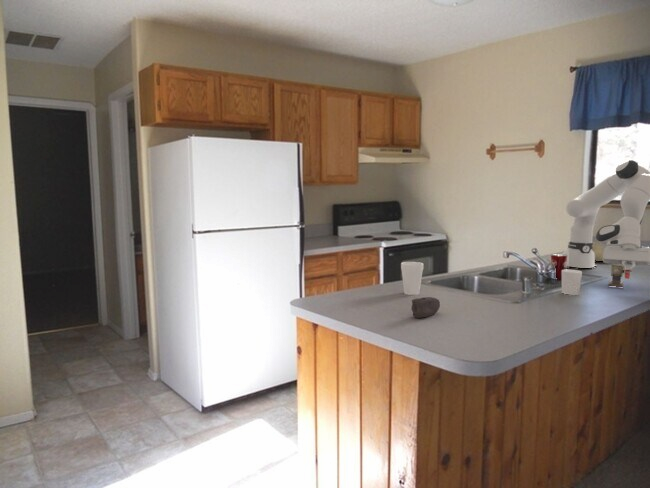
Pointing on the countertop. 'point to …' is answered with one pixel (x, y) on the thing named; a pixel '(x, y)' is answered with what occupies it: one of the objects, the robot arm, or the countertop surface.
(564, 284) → the white cup
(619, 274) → the valve stand
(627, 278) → the lever
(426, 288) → the countertop surface
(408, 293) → the foam cup
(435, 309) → the perforated stone tool
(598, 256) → the planter bowl
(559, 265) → the soda can
